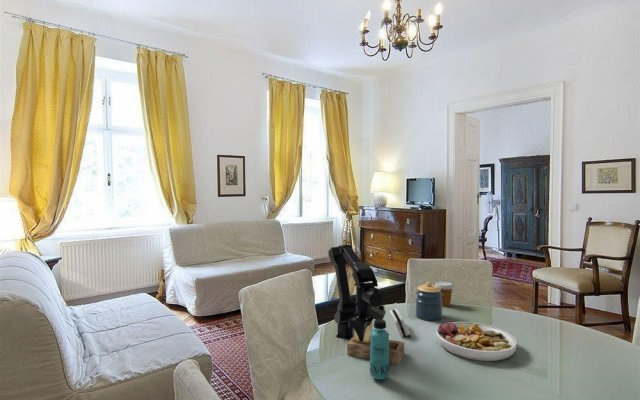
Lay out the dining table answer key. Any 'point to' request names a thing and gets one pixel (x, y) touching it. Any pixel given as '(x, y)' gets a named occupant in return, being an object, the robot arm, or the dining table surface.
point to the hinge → (399, 323)
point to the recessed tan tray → (364, 350)
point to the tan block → (365, 334)
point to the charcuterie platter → (476, 341)
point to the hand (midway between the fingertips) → (363, 338)
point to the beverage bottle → (379, 350)
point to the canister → (429, 302)
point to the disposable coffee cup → (445, 292)
